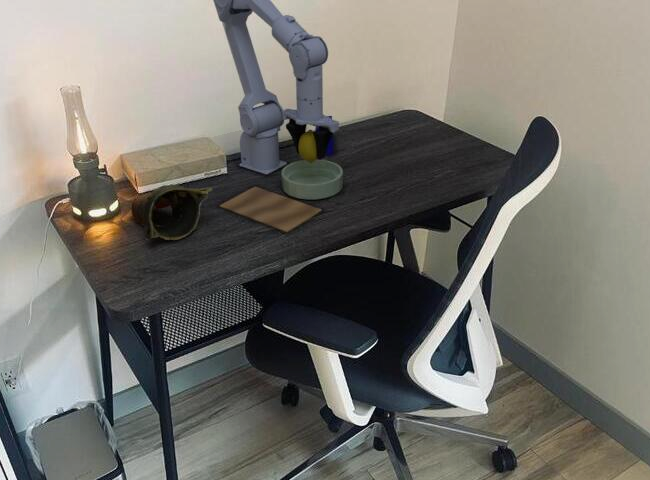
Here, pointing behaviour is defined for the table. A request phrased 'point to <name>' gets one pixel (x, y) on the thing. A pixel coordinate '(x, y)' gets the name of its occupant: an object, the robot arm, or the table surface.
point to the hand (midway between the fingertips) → (310, 155)
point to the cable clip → (330, 145)
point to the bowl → (312, 179)
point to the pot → (177, 200)
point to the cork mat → (271, 209)
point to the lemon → (308, 147)
